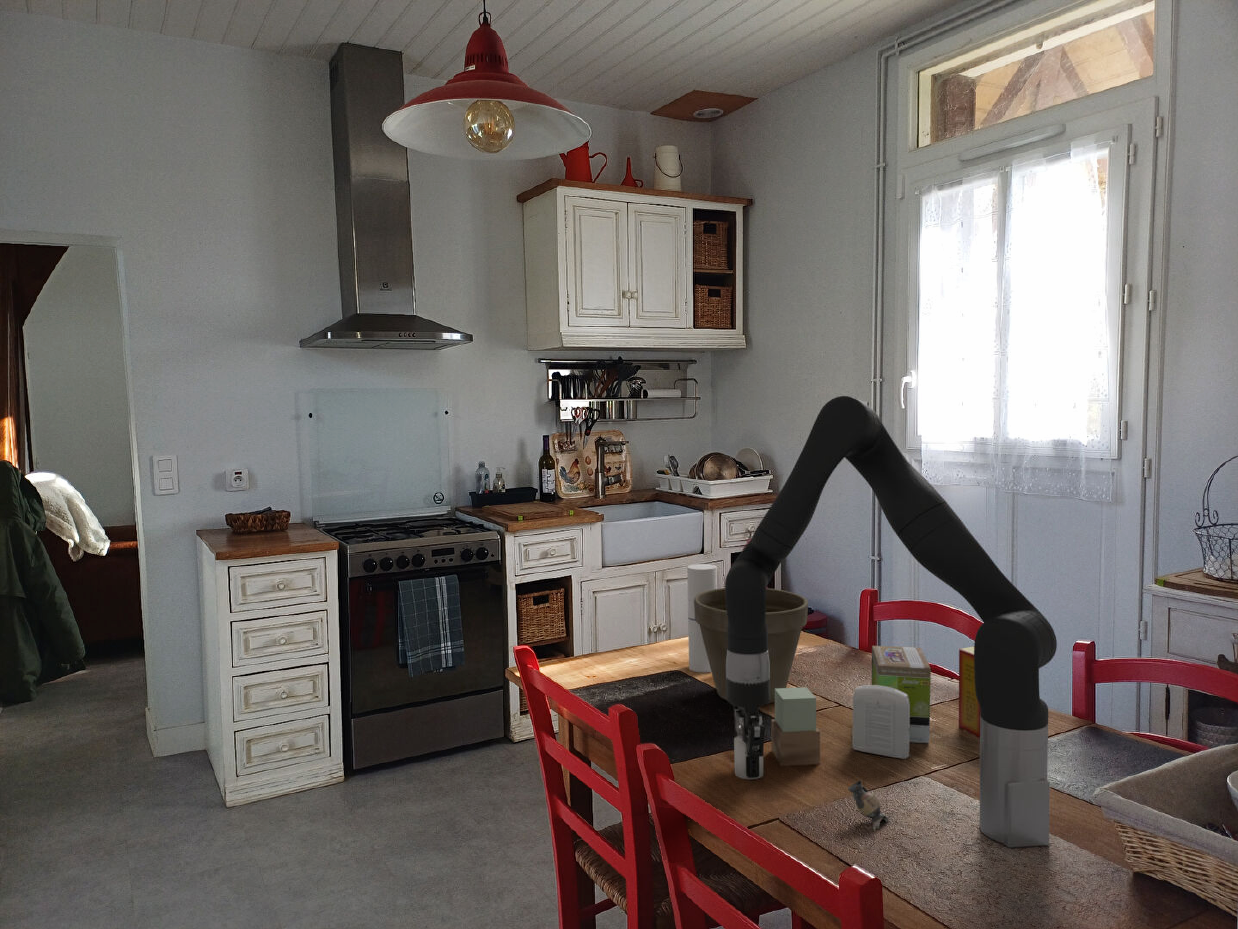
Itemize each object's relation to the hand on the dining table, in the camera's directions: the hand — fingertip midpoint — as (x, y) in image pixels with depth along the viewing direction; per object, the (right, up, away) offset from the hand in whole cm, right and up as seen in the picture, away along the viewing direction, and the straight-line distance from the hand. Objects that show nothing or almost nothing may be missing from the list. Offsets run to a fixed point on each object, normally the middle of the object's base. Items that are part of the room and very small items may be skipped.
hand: (748, 769), depth 157 cm
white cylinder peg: (0, -1, 0) cm, 1 cm away
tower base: (+9, 0, +7) cm, 12 cm away
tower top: (+9, +6, +6) cm, 13 cm away
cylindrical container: (-2, +4, +62) cm, 62 cm away
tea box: (+33, +1, +20) cm, 38 cm away
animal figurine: (+15, -2, -18) cm, 24 cm away
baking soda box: (+50, +2, +18) cm, 53 cm away
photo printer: (+25, 0, +8) cm, 27 cm away
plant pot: (+7, +2, +42) cm, 42 cm away
